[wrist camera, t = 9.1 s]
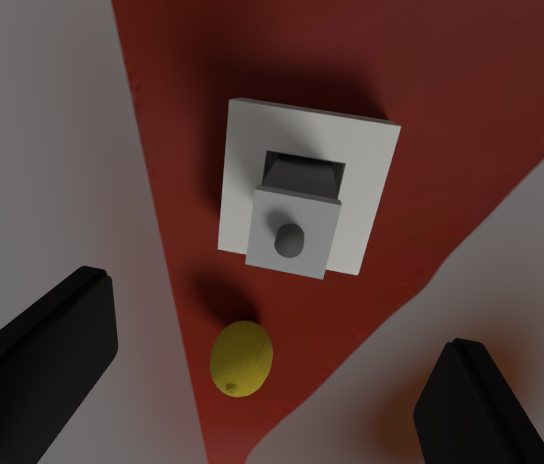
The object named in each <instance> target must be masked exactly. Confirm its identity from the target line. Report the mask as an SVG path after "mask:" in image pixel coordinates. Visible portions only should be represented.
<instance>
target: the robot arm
mask: <svg viewBox="0 0 544 464" xmlns="http://www.w3.org/2000/svg"><path fill="white" fill-rule="evenodd" d="M117 351H118V338H117V328H116V317H115V307H114V297H113V287H112V279H111V277H110V276H107V272H106V271H105V270H103V269H98V268H93V267H88V266H82V267H80V268H78V269H77V270H76V271H75V272H73V273H72V274H71V275H69V276H68V277H67V278H66V279H64V280H63V281H62V282H61V283H59V284H58V285H57V286H55V287H54V288H53V289H52V290H50V291H49V292H48V293H47V294H45V295H44V296H43V297H41V298H40V299H39V300H38V301H36V302H35V303H34V304H32V305H31V306H30V307H29V308H27V309H26V310H25V311H24V312H22V313H21V314H20V315H19V316H17V317H16V318H15V319H13V320H12V321H11V322H10V323H8V324H7V325H6V326H4V327H3V328H2V329H1V330H0V464H37V463H38V461H39V460H40V459H41V457H42V456H43V454H44V453H45V452H46V451H47V449H48V448H49V446H50V445H51V444H52V442H53V441H54V440H55V438H56V437H57V435H58V434H59V433H60V431H61V430H62V429H63V427H64V426H65V424H66V423H67V422H68V421H69V419H70V418H71V416H72V415H73V414H74V412H75V411H76V410H77V408H78V407H79V406H80V404H81V403H82V402H83V400H84V399H85V397H86V396H87V395H88V393H89V392H90V391H91V389H92V388H93V387H94V385H95V384H96V383H97V381H98V380H99V378H100V377H101V376H102V374H103V373H104V372H105V370H106V369H107V368H108V366H109V365H110V363H111V362H112V361H113V359H114V358H115V356H116V354H117ZM413 417H414V423H415V427H416V430H417V434H418V438H419V441H420V445H421V449H422V452H423V456H424V460H425V464H544V442H543V440H542V439H541V437H540V436H539V434H538V433H537V431H536V429H535V428H534V426H533V424H532V423H531V421H530V419H529V418H528V416H527V414H526V413H525V411H524V410H523V408H522V406H521V405H520V403H519V401H518V400H517V398H516V397H515V395H514V393H513V392H512V390H511V389H510V387H509V385H508V384H507V382H506V380H505V379H504V377H503V376H502V374H501V372H500V371H499V369H498V367H497V366H496V364H495V362H494V361H493V359H492V358H491V356H490V354H489V353H488V351H487V349H486V348H485V346H484V345H483V344H482V343H480V342H476V341H470V340H466V339H460V338H456V339H454V340H453V342H448V343H447V344H446V345H445V347H444V349H443V351H442V353H441V355H440V357H439V359H438V361H437V363H436V365H435V367H434V369H433V371H432V373H431V375H430V377H429V379H428V381H427V383H426V385H425V387H424V389H423V391H422V393H421V395H420V398H419V400H418V402H417V404H416V406H415V408H414V414H413Z"/></svg>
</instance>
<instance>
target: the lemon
mask: <svg viewBox="0 0 544 464" xmlns="http://www.w3.org/2000/svg"><path fill="white" fill-rule="evenodd" d="M272 358H273V350H272V343H271V340H270V337H269V335H268V333H267V332H266V331H265V329H264V328H262V327H261V326H260V325H259V324H257V323H255V322H251V321H245V320H244V321H237V322H235V323H232V324H230V325H229V326H227V327H226V328H225V329H224V330H223V331H222V332H221V333H220V335H219V336H218V338H217V339H216V341H215V343H214V346H213V350H212V353H211V358H210V371H211V376H212V379H213V381H214V383H215V384H216V386H217V387H218V388H219V389H220V390H221V391H222V392H224V393H225V394H227V395H230V396H233V397H242V396H247V395H249V394H252V393H253V392H255V391H256V390H257V389H258V388H260V386H261V385H262V384H263V382H264V381H265V379H266V377H267V375H268V373H269V370H270V367H271V363H272Z"/></svg>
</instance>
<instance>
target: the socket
mask: <svg viewBox="0 0 544 464" xmlns="http://www.w3.org/2000/svg"><path fill="white" fill-rule="evenodd" d="M400 129H401V126H399V125H397V124H395V123H393V122H391V121H389V120H383V119H376V118H370V117H363V116H357V115H351V114H344V113H338V112H331V111H325V110H319V109H312V108H306V107H299V106H293V105H286V104H280V103H274V102H267V101H261V100H254V99H248V98H237V99H230V100H229V110H228V123H227V136H226V149H225V162H224V175H223V188H222V202H221V215H220V228H219V241H218V249H220V250H225V251H231V252H236V253H241V254H247V247H248V240H249V232H250V225H251V217H252V210H253V202H254V194H255V189H256V187H257V186H258V185H261V184H262V182H263V181H264V179H265V177H266V176H267V174H268V172H269V171H270V169H271V167H272V166H273V164H274V162H275V161H276V159H277V157H278V156H279V154H286V155H291V156H297V157H303V158H308V159H314V160H319V161H325V162H331V163H332V166H333V172H334V178H335V184H336V191H337V197H338V200H341V204H342V206H341V210H340V214H339V218H338V222H337V226H336V230H335V234H334V238H333V242H332V246H331V249H330V253H329V257H328V261H327V265H326V269H327V270H332V271H338V272H343V273H348V274H354V275H358V273H359V270H360V266H361V263H362V259H363V256H364V252H365V249H366V245H367V242H368V239H369V235H370V232H371V228H372V225H373V221H374V218H375V215H376V211H377V208H378V204H379V201H380V197H381V194H382V191H383V187H384V184H385V180H386V177H387V173H388V170H389V166H390V163H391V160H392V156H393V153H394V149H395V146H396V142H397V139H398V136H399V132H400Z"/></svg>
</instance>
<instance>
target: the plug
mask: <svg viewBox="0 0 544 464" xmlns="http://www.w3.org/2000/svg"><path fill="white" fill-rule="evenodd" d="M341 206H342V204H341V200H338V197H337V191H336V184H335V178H334V172H333V166H332V163H331V162H325V161H319V160H314V159H308V158H303V157H297V156H291V155H286V154H279V156H278V157H277V159H276V161H275V162H274V164H273V166H272V167H271V169H270V171H269V172H268V174H267V176H266V177H265V179H264V181H263V182H262V184H261V185H258V186H257V187H256V189H255V194H254V202H253V210H252V217H251V225H250V232H249V240H248V247H247V255H246V262H245V264H248V265H253V266H258V267H263V268H268V269H273V270H278V271H283V272H288V273H293V274H298V275H303V276H308V277H313V278H318V279H323V277H324V273H325V269H326V265H327V261H328V257H329V253H330V249H331V246H332V242H333V238H334V234H335V230H336V226H337V222H338V218H339V214H340V210H341Z"/></svg>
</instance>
